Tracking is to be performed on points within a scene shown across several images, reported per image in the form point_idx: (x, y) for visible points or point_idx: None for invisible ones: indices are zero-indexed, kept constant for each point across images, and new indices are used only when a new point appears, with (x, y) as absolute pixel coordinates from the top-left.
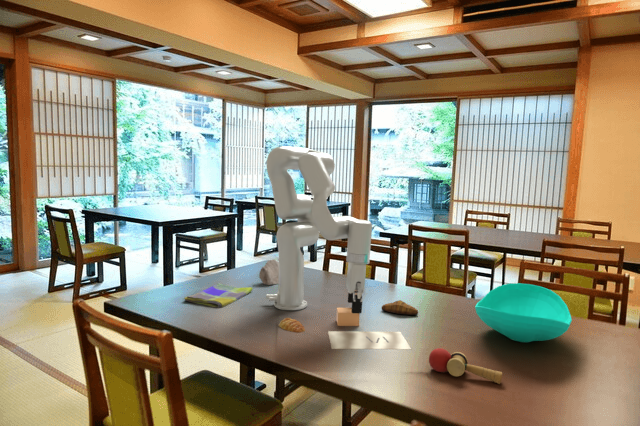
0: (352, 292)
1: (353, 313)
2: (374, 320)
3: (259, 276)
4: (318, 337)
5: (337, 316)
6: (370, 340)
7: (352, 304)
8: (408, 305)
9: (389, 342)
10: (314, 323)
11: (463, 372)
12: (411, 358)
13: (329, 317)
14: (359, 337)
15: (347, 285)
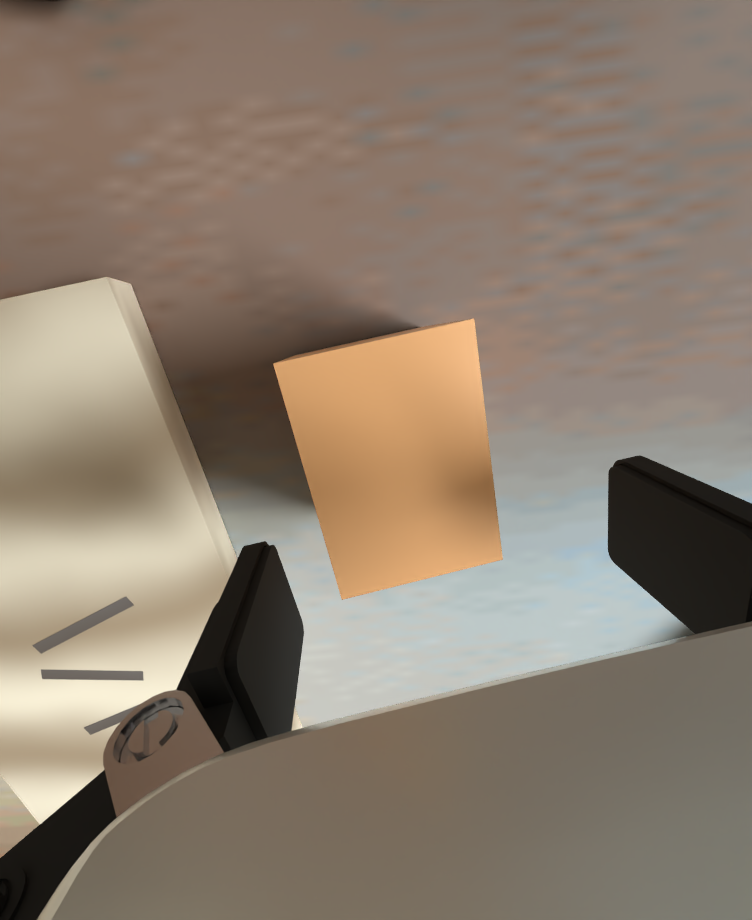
0: None
1: (325, 538)
2: (547, 588)
3: None
4: (58, 192)
5: (342, 346)
6: (63, 635)
7: (209, 627)
8: None
9: (90, 735)
10: (410, 94)
11: None
12: (9, 804)
13: (586, 242)
14: (86, 560)
15: (695, 849)
